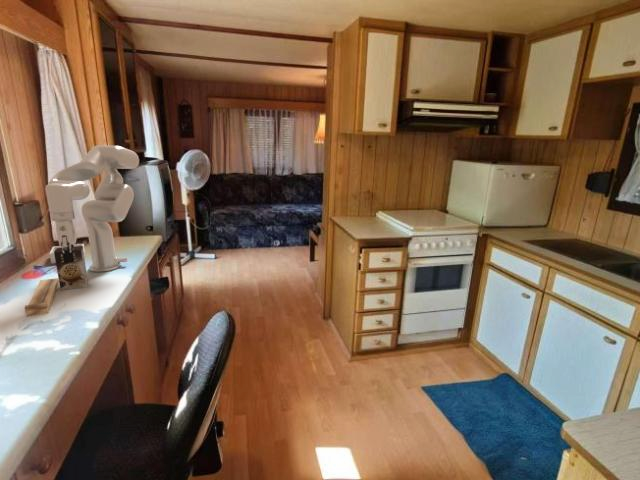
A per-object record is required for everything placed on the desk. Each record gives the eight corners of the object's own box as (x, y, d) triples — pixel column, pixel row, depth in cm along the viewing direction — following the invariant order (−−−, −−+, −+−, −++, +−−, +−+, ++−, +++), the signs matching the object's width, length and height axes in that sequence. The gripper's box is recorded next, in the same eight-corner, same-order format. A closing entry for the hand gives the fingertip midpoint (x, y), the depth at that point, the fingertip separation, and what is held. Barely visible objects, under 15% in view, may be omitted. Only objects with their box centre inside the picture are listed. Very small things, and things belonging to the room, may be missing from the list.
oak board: (59, 282, 149) (57, 274, 148) (48, 313, 124) (46, 303, 123) (41, 284, 146) (39, 276, 145) (26, 316, 121) (24, 307, 120)
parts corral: (85, 252, 185) (83, 243, 184) (83, 259, 175) (82, 250, 174) (54, 256, 179) (53, 246, 178) (51, 263, 169) (49, 253, 168)
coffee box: (60, 290, 141) (52, 252, 136) (62, 284, 146) (55, 247, 142) (87, 287, 145) (81, 249, 140) (88, 281, 150) (82, 245, 146)
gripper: (72, 219, 132) (79, 264, 137) (76, 210, 146) (82, 252, 151) (47, 221, 128) (55, 267, 133) (53, 212, 143) (61, 254, 148)
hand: (70, 259), depth 142 cm, fingers closed on coffee box, 6 cm apart
